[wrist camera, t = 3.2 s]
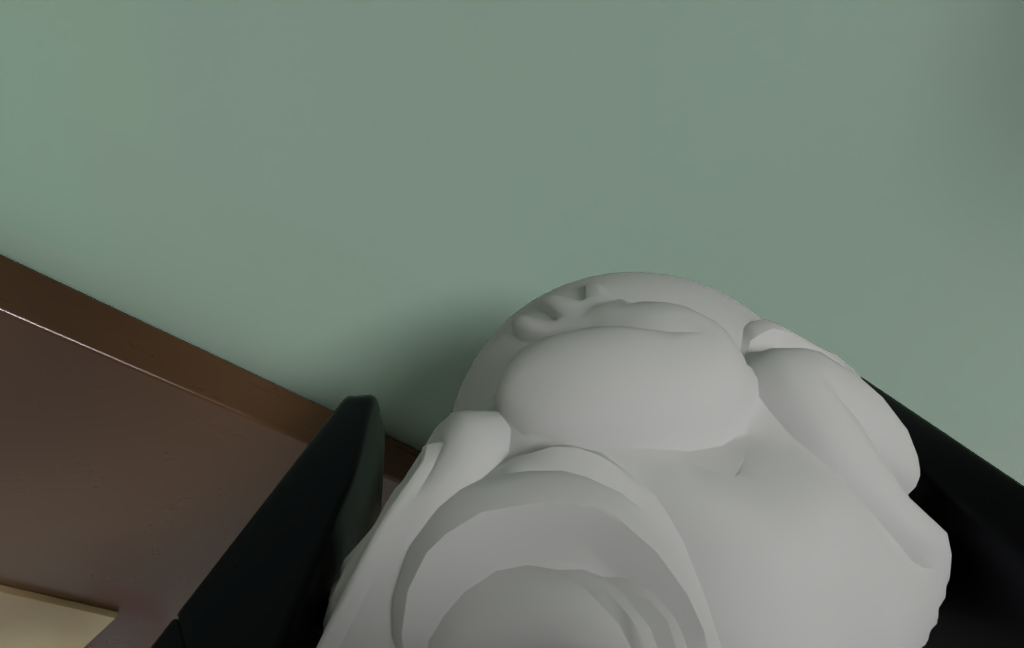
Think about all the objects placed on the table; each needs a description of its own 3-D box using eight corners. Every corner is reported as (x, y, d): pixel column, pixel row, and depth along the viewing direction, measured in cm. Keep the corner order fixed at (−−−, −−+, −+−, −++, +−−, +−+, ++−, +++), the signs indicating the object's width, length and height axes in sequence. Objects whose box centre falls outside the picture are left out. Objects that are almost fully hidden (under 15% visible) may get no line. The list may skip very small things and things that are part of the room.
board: (609, 540, 19) (617, 582, 18) (298, 707, 28) (292, 741, 27) (-173, 170, 10) (-251, 214, 9) (-266, 601, 19) (-309, 648, 18)
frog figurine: (346, 160, 8) (64, 934, 2) (860, 168, 8) (1586, 826, 3) (390, 447, 12) (322, 975, 6) (732, 441, 12) (935, 926, 7)
